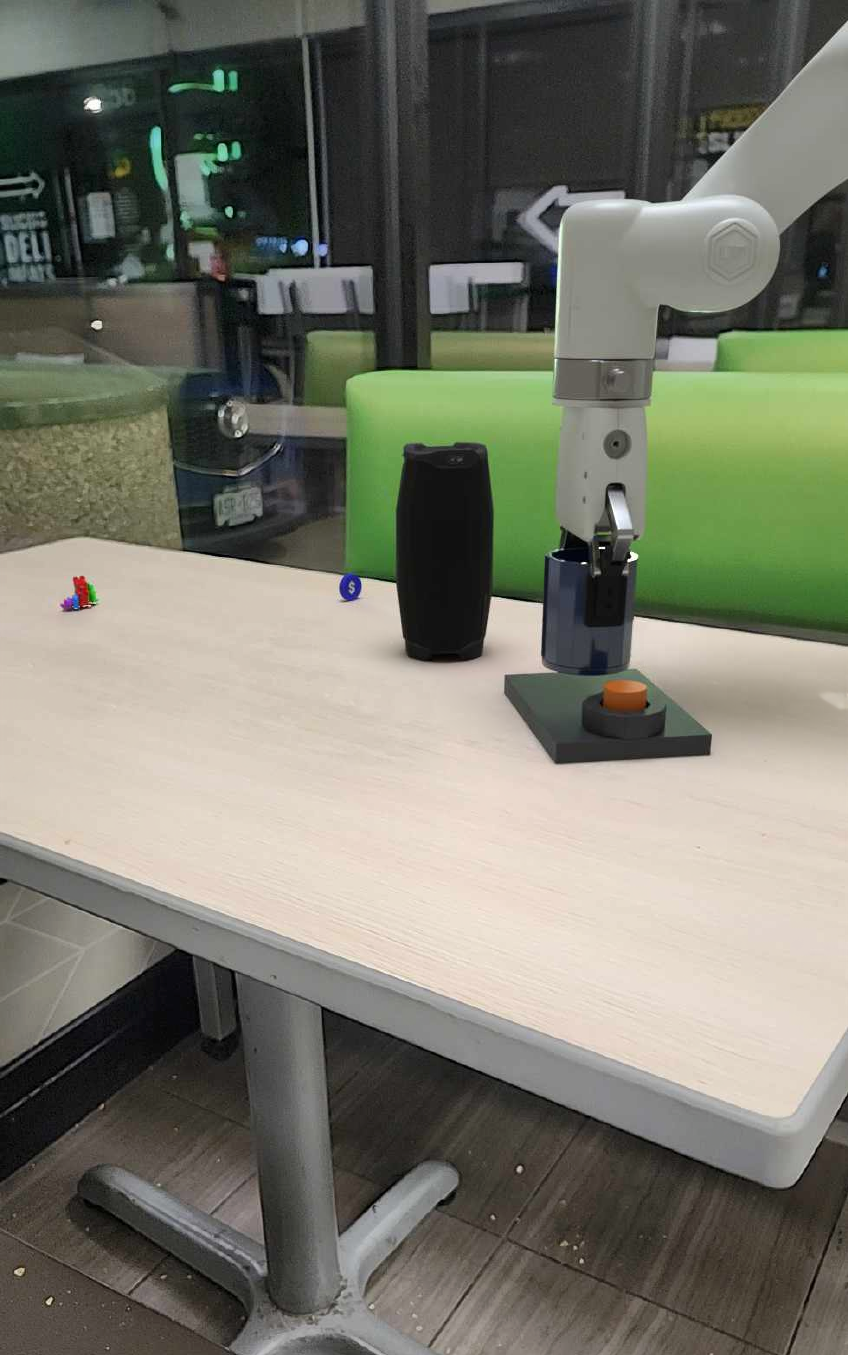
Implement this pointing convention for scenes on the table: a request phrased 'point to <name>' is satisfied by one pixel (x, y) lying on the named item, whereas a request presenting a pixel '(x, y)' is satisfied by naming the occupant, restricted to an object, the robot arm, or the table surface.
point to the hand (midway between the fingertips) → (589, 612)
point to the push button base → (602, 719)
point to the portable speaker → (444, 549)
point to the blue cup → (563, 613)
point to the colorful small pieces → (80, 594)
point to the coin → (350, 586)
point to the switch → (625, 695)
